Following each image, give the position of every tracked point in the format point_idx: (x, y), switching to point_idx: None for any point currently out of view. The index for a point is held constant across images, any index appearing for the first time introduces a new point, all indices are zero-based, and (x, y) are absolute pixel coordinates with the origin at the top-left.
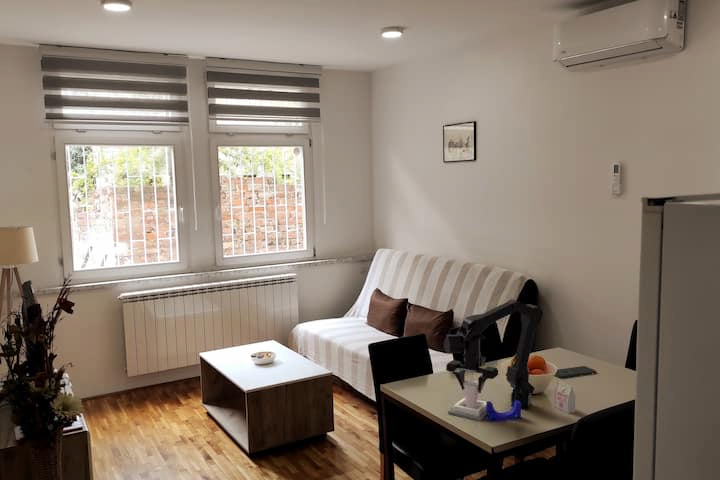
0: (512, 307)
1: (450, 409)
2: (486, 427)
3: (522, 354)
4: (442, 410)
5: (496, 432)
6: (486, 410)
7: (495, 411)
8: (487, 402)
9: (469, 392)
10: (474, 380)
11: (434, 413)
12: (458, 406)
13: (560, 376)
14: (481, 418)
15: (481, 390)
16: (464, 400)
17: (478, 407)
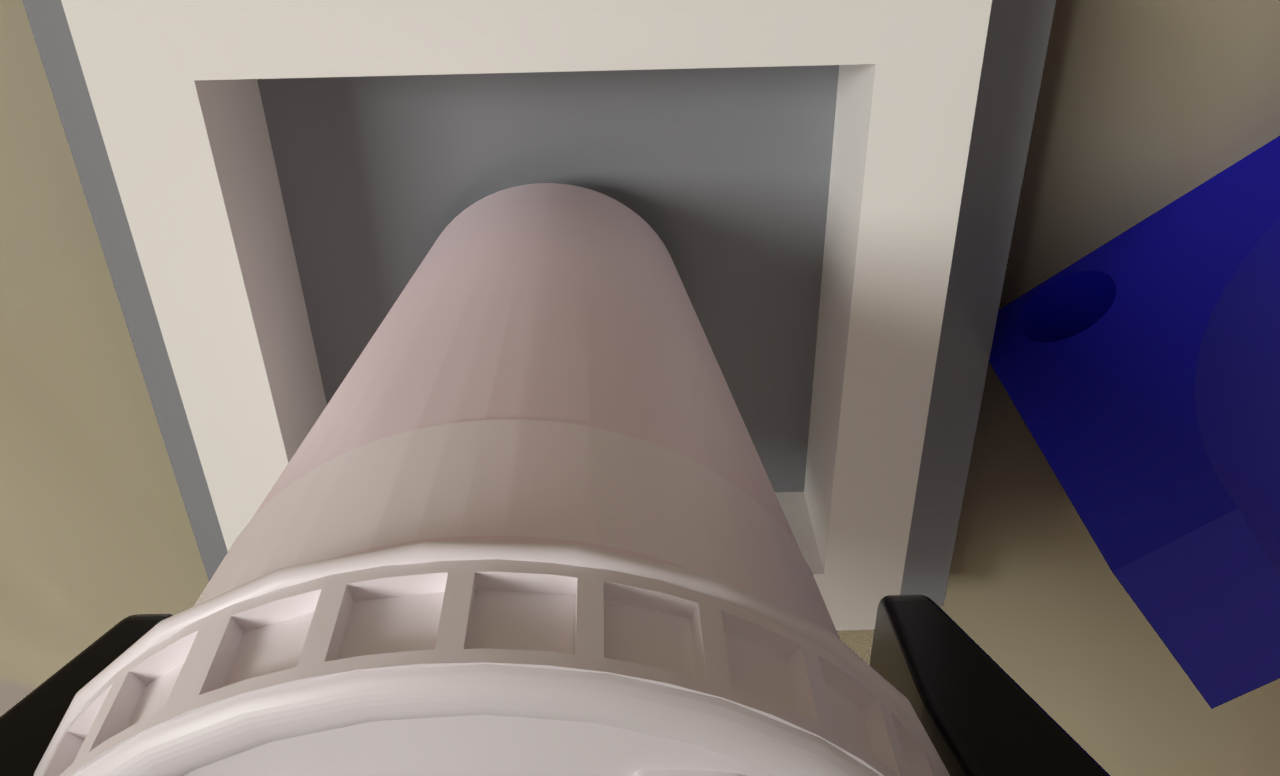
0: None
1: (197, 541)
2: (1078, 697)
3: None
4: (37, 512)
5: (1261, 756)
6: (1024, 418)
7: (1258, 353)
8: (1154, 611)
9: None
10: (410, 700)
11: (41, 678)
12: None
13: None
14: (945, 580)
15: (981, 672)
16: (229, 200)
17: (677, 92)
